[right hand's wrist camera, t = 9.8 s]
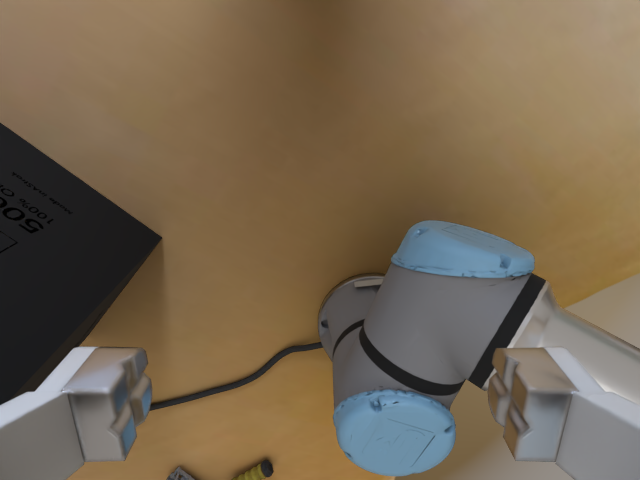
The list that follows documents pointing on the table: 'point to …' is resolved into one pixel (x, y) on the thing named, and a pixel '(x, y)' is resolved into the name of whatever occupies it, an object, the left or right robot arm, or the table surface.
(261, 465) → the toy gun
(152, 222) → the table surface
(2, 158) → the cardboard box
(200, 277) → the table surface
